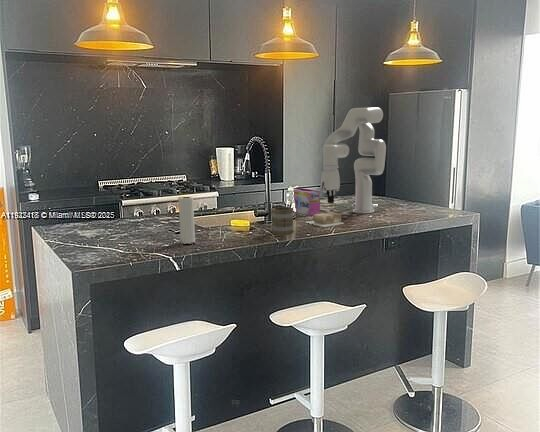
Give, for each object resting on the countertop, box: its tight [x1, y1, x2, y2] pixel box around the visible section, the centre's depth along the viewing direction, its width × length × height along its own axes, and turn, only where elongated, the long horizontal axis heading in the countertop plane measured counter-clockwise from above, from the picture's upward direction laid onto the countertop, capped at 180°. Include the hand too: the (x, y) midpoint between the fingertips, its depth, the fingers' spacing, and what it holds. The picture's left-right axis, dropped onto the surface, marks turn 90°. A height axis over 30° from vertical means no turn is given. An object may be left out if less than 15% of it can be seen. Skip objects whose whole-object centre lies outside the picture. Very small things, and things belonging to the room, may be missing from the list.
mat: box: [304, 220, 345, 228], centre depth 286 cm, size 14×16×1 cm
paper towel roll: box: [177, 196, 196, 243], centre depth 243 cm, size 7×6×21 cm
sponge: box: [313, 211, 342, 225], centre depth 286 cm, size 4×8×12 cm
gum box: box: [293, 187, 321, 217], centre depth 319 cm, size 24×8×14 cm, turn 32°
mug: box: [271, 206, 294, 236], centre depth 266 cm, size 16×11×12 cm
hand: (330, 202), depth 286 cm, fingers closed
